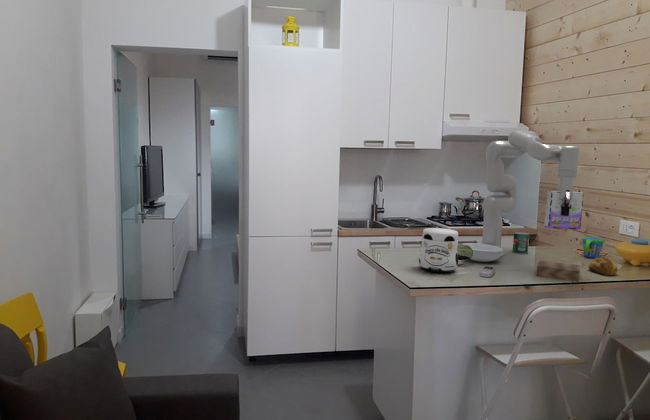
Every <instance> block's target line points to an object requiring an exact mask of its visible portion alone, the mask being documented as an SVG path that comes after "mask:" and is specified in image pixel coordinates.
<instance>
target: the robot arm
mask: <svg viewBox="0 0 650 420" xmlns="http://www.w3.org/2000/svg"><path fill="white" fill-rule="evenodd" d="M526 153H527V155H528V156H529V157H531V158H533V159H535V160H537V161H540V162H545V163H546V162H547V163H558V167H557V168H558V170H557V178H559V179H558V183H557V190H556V191H560V197H559V199H560V200H561V199H563V202H562V206H561V216H569V209H570V200H572V194H573V192H574V179H577V176H578V175H577V174H578V173H577V172H578V165H579V154H580V148H579V147H578V146H576V145H556V144H544V143H542V139H541V138H540V137H539V136H538V134H537V133H536V132H535V131H534V130H533V131H532V130H522V129H517V130H516V129H515V130H513V131H511V132H510V133H509V134H508V137H507V140H494V141H491V142H490V143H489V144H488V145H487V147H486V150H485V160H486V189H487V190H488V192H491V193H500V194H491V195H487V196H486V197H485V198H484V199H483V201H482V208H483V226H482V227H483V228H482V240H481V244H487V245H492V246H497V247H500V248H501V246H502V233H503V224H504V223H503V219H502V216H501V214H511V213H513V212H515V210H516V208H517V199H518V198H517V197H518V195H517V194H518V183H517V179H516V177H515V176H513V175H511V174H505V165H504V162H503V160H502V159H501V158H509V159H510V158H512V159H515V158H519V157H521V156H523V155H524V154H526ZM501 193H502V194H501ZM565 194H566V195H565ZM570 197H571V199H570ZM564 198H566V199H564ZM503 256H504V253H503V252H502V254H501V256H500V257H503Z"/></svg>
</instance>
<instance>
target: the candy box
mask: <svg viewBox="0 0 650 420" xmlns="http://www.w3.org/2000/svg"><path fill="white" fill-rule="evenodd" d="M546 191H547V194H546V201H545V213H544V214H545V215H544V223H543V224H544V225H543V226H544V227H545V228H547V229H558V230H559V229H560V230H561V229H563V230H581V229H582V228H581V227H582V226H581V225H582V215H583V204H584V192H582V191H573V194H572V200H570V209H569V216H561V206H562V202H563V199H561V200H560V199H559V197H560V191H557V190H546ZM565 195H566V194H565ZM564 199H566V198H564ZM570 199H571V197H570Z"/></svg>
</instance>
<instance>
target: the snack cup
mask: <svg viewBox="0 0 650 420" xmlns="http://www.w3.org/2000/svg"><path fill="white" fill-rule="evenodd" d="M581 240H582V248H583V249H582V250H583V251H582V252H583V256H584V257H586V258H590V259H591V258H592V259H595V258H600V257H601V252H602V249H603V245H604V243H605V239H603V238H600V237H599V238H598V237H591V236H585V237H584V236H583V237H582V238H581Z"/></svg>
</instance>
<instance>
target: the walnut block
mask: <svg viewBox="0 0 650 420" xmlns="http://www.w3.org/2000/svg"><path fill="white" fill-rule="evenodd" d="M580 267H581V265H580V264H573V263H566V262H565V263H563V262H556V261H548V260H538V262H537V264H536V274H535V276H536V277H542V278H549V279H556V280H562V281H570V282H578V283H579V281H580Z"/></svg>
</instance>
